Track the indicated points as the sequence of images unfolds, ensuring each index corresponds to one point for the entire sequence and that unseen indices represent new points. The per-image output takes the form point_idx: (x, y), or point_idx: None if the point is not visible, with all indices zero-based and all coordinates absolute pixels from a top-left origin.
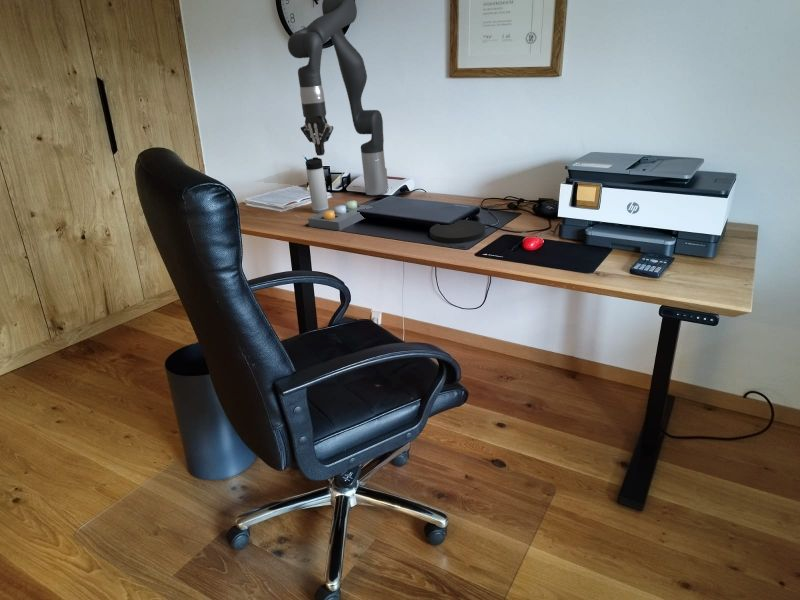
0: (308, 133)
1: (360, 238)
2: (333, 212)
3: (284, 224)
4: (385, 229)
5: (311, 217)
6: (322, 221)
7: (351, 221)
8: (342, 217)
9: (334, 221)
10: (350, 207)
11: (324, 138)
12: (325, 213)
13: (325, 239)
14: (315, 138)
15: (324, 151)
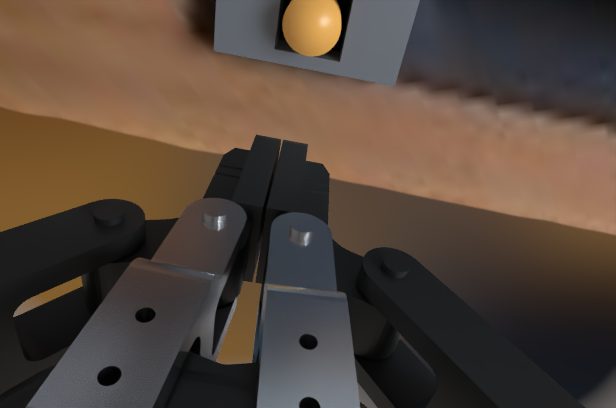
0: (3, 374)
1: (508, 143)
2: (340, 26)
3: (87, 31)
4: (603, 25)
5: (221, 35)
6: (301, 65)
7: None
8: (383, 11)
9: (369, 77)
10: None
11: (420, 389)
12: (308, 54)
13: (375, 169)
14: (219, 344)
15: (328, 179)
